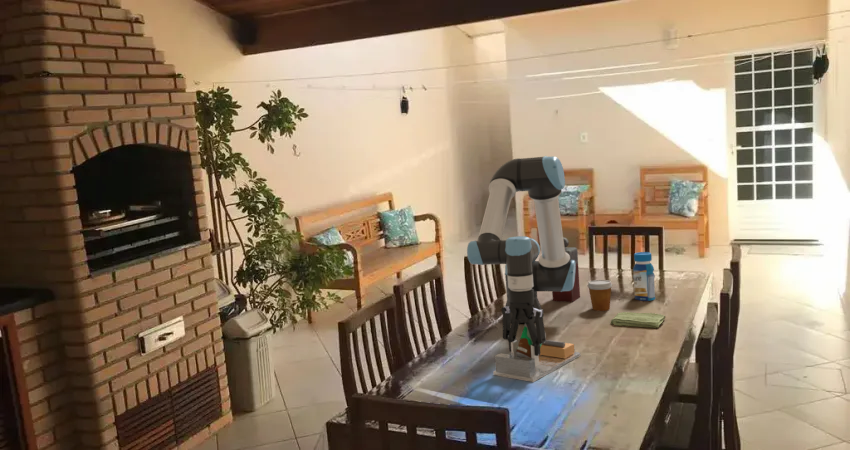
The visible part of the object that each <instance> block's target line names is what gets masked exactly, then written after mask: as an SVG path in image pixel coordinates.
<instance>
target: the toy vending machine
mask: <svg viewBox="0 0 850 450" xmlns="http://www.w3.org/2000/svg"><path fill="white" fill-rule="evenodd" d="M563 240H564V247H565V252H566V253H568V254H569V255H570V260H574V261H575V263H576V269H575V281H574V286H573V289H572V290H571V291H562V292H561V291H551V295H552V302H564V303H565V302H567V303H574V302H575V301H577V300H579V299H580V298H581V292H580V291H581V290H580V286H581V285H580V273H579V272H580V271H579V254H578V248H577V247H568V246H569V244H570V242H569V239H568V238H567V237H563Z"/></svg>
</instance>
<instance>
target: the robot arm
mask: <svg viewBox="0 0 850 450" xmlns="http://www.w3.org/2000/svg"><path fill="white" fill-rule="evenodd" d="M563 167H564V166H563V163H562V162H561V160H560V159H559V158H558V157H557V156H552V155H551V156H547V155H545V156H537V157H525V158H514V159H511V160H508V161H507V162H505V163H504V164H502V165H501V166H500V167H499V168H497V170H496V171H495V172H494V174H493V175H492V177H491V179H490V181H489V184H488V192H489V196H488V199H487V202H486V203H487V204H486V207H485V209H484V215H483V218H482V223H481V226H480V228H479V229H480V230H479V234H478V236H477V237H478V238H477V240H471V241H469V242H468V244H467V248H466V254H467V260H468V262H469V263H470V264H471V265H480V266H481V265H482V266H484V265H504V276H505V277H504V279H505V290H506V302H505V305H504V306H503V307H501V309H500V310H501V313H502V339H503V340H506V341H508V349H509V353H510V355H515V356H517V353H516V351H517V347H518V344H519V341H518V340H517V333H518V330H519V325H520V324H522V323H524V325H525V324H526V325H527V328H528V331H529V334H530V337H531V340H532V342H533V344H532V345H531V358H535V366H537V365H539V356H538V355H540V344H542V343H544V342H546V340H547V337H546V338H545V333H546V329H545V325H544V324H545V323H544V313H545V311H544V309H542V306H541V303H540V301H539V297H538V292H552V291H561V292H562V291H571V290H572V289H573V286H574V281H575V269H576V263H575V261H574V260H570V255H569V254H568V253H566V252H565V247H564V240H563V238H564V234H563V226H562V218H561V210H560V203H559V196H560V195H561V194H562V190H563V189H565V186H566V178H565V172H564V168H563ZM517 192H527V194H528V198H530V199H531V200H533V206H534V210H535V211H534V212H535V217H536V218H535V219H536V225H537V230H538V231H537V232H538V237H539V238H538V239H539V243H538V242H537V240H535V239H534V238H531V237H528V236H525V235H524V236H523V235H522V236H512V237H507V238H506V239H503V235H504V230H505V226H506V221H507V219H508V218H507V217H508V213H509V209H510V205H511V203H512V202H511V201H512V199H513V198H514V197H515V196H516V193H517ZM539 244H540V245H539ZM540 253H541V255H540ZM538 257H539V258H538ZM537 259H538V260H537ZM535 324H536V326H535Z"/></svg>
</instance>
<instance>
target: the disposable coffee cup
mask: <svg viewBox="0 0 850 450" xmlns="http://www.w3.org/2000/svg"><path fill="white" fill-rule="evenodd" d="M587 283H588V284H587V288H588V293H589V297H590V303H591V309H592V310H593V311H597V312H603V311H604V312H605V311H609V310H610V308H611V298H612V297H611V296H612V287H613V284H612V282H611V280H607V279H595V280H590V281H588V282H587Z"/></svg>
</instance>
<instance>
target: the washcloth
mask: <svg viewBox="0 0 850 450" xmlns="http://www.w3.org/2000/svg"><path fill="white" fill-rule="evenodd" d="M665 319H666V315H664V314H662V313H655V312H631V311H630V312H627V311H622V312H618V313H617V314H616V315H615V317H613V318H612V319H611V320H610V324H611V325H613V326H615V327H616V326H617V327H620V326H621V327H631V328H633V327H636V328H653V329H659V327H660V325H661V324H662V323H663V322H664V320H665Z"/></svg>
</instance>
